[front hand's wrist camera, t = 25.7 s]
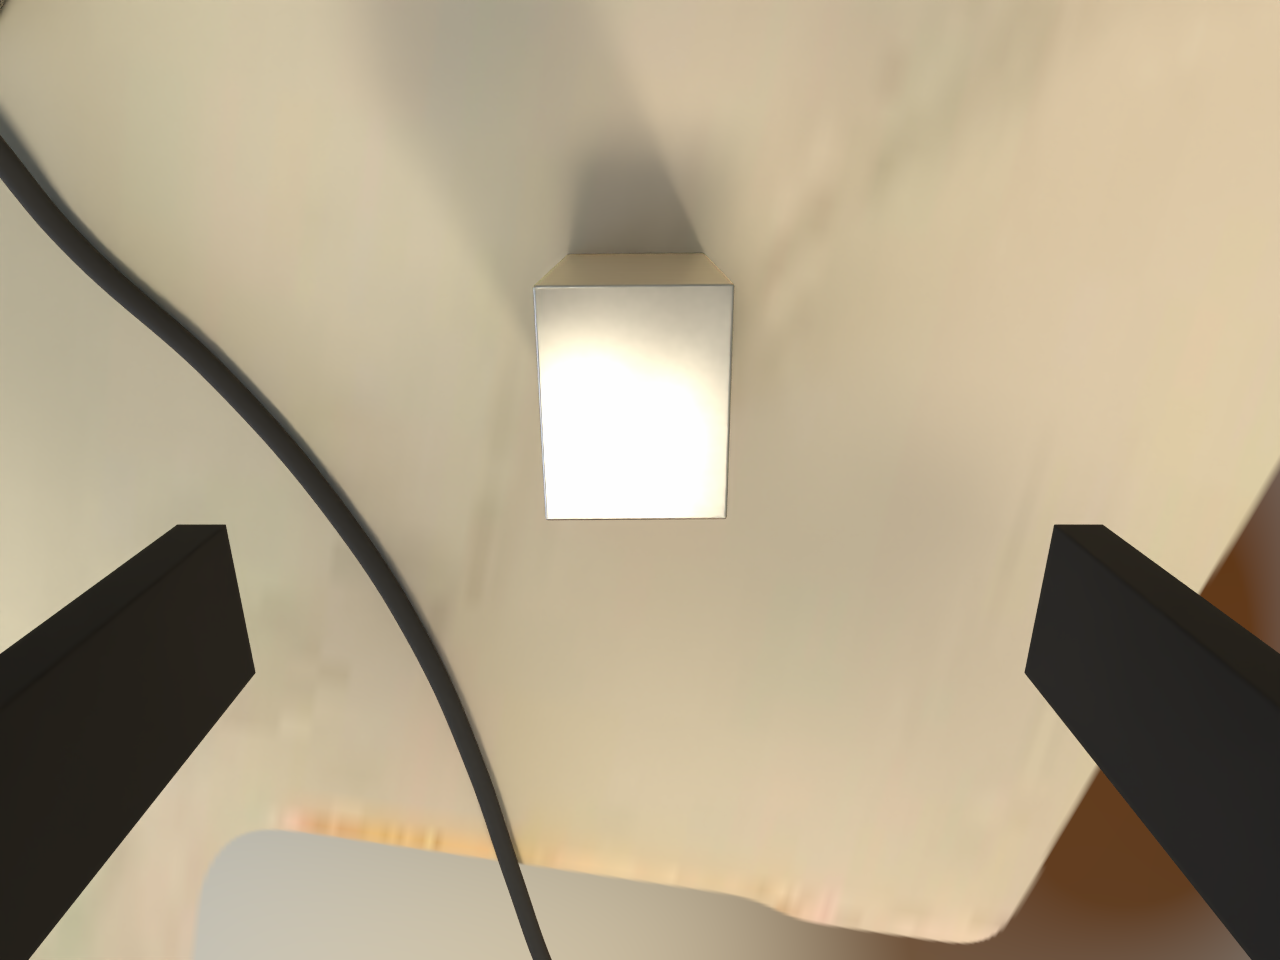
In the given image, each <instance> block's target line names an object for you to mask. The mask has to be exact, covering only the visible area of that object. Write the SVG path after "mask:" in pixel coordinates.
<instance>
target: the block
mask: <svg viewBox="0 0 1280 960" xmlns="http://www.w3.org/2000/svg"><path fill="white" fill-rule="evenodd" d="M533 298H534V317H535V335H536V353H537V372H538V390H539V408H540V426H541V445H542V463H543V481H544V499H545V518H546V520H633V519H725V518H726V517H727V498H728V467H729V437H730V406H731V376H732V345H733V314H734V284H733V283H732V282H731V281H730V280H729V279H728V278H727V277H726V276H725V275H724V274H723V273H722V272H721V270H720V269H719V268H718V267H717V266H716V265H715V264H714V263H713V262H712V261H711V260H710V259H709V258H708V257H707V256H706V255H705V254H704V253H656V254H568V255H567V256H566V257H565V258H564V259H562V260H561V261H560V262H559V263H558V264H557V265H556V266H555V267H554V268H553V269H552V270H550V271H549V272H548V273H547V274H546V275H545V276H544V277H543V278H542V279H541V280H540V281H539V282H537V283H536V284H535V285H534V286H533Z"/></svg>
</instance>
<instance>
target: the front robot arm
mask: <svg viewBox="0 0 1280 960" xmlns="http://www.w3.org/2000/svg"><path fill="white" fill-rule="evenodd" d="M4 1H5V0H0V9H1V7H2V6H3V4H4ZM0 178H1V179H2V181H3V182H4V183H5V184H6V186H7V187H8V188H9V189H10V191H11V192H12V193H13V194H14V196H15V197H16V198H17V199H18V201H19V202H20V203H21V204H22V206H23V207H24V208H25V209H26V211H27V212H28V213H29V214H30V215H31V216H32V218H33V219H34V220H35V221H36V222H37V223H38V225H39V226H40V227H41V228H42V229H43V230H44V231H45V232H46V233H47V235H48V236H49V237H50V238H51V239H52V240H53V241H54V242H55V243H56V244H57V245H58V246H59V247H60V248H61V249H62V250H63V251H64V252H65V253H66V254H67V255H68V256H69V257H70V258H71V259H72V260H73V261H74V262H75V263H76V264H77V265H78V266H79V267H80V268H81V269H82V270H83V271H84V272H85V273H86V274H87V275H88V276H89V277H90V278H91V279H93V280H94V281H95V282H96V283H97V284H98V285H99V286H100V287H101V288H102V289H104V290H105V291H106V292H107V293H108V294H109V295H110V296H111V297H113V298H114V299H115V300H116V301H117V302H118V303H120V304H121V305H122V306H123V307H124V308H125V309H127V310H128V311H129V312H130V313H131V314H133V315H134V316H135V317H136V318H137V319H139V320H140V321H141V322H142V323H143V324H145V325H146V326H147V327H148V328H149V329H150V330H152V331H153V332H154V333H155V334H156V335H158V336H159V337H160V338H161V339H162V340H163V341H165V342H166V343H167V344H168V345H169V346H170V347H172V348H173V349H174V350H175V351H176V352H177V353H178V354H179V355H180V356H182V357H183V358H184V359H185V360H186V361H187V362H188V363H189V364H190V365H191V366H192V367H193V368H194V369H196V370H197V371H198V372H199V373H200V374H201V375H202V376H203V377H204V378H205V379H206V380H207V381H208V382H209V383H210V384H211V385H212V386H213V387H214V388H215V389H216V390H217V391H218V392H219V393H220V394H221V395H222V397H223V398H224V399H225V400H226V401H227V402H228V403H229V404H230V405H231V406H232V407H233V408H234V409H235V410H236V411H237V412H238V413H239V414H240V415H241V416H242V417H243V418H244V420H245V421H246V422H247V423H248V424H249V425H250V426H251V427H252V428H253V429H254V430H255V431H256V432H257V434H258V435H259V436H260V437H261V438H262V439H263V440H264V441H265V442H266V444H267V445H268V446H269V447H270V448H271V449H272V450H273V451H274V453H275V454H276V455H277V456H278V457H279V458H280V460H281V461H282V462H283V463H284V464H285V465H286V467H287V468H288V469H289V470H290V471H291V473H292V474H293V475H294V476H295V478H296V479H297V480H298V481H299V482H300V484H301V485H302V486H303V487H304V489H305V490H306V491H307V493H308V494H309V495H310V496H311V498H312V499H313V500H314V501H315V503H316V504H317V505H318V507H319V508H320V509H321V511H322V512H323V513H324V515H325V516H326V517H327V518H328V520H329V521H330V522H331V524H332V525H333V527H334V528H335V529H336V531H337V532H338V533H339V535H340V536H341V537H342V539H343V540H344V541H345V543H346V544H347V546H348V547H349V548H350V550H351V551H352V553H353V554H354V555H355V557H356V558H357V560H358V561H359V563H360V564H361V565H362V567H363V568H364V570H365V571H366V573H367V574H368V576H369V577H370V579H371V580H372V582H373V583H374V585H375V587H376V588H377V590H378V591H379V593H380V594H381V596H382V598H383V599H384V601H385V603H386V604H387V606H388V608H389V609H390V611H391V613H392V614H393V616H394V618H395V620H396V621H397V623H398V625H399V627H400V628H401V630H402V632H403V634H404V635H405V637H406V639H407V641H408V643H409V645H410V646H411V648H412V650H413V652H414V654H415V656H416V657H417V659H418V661H419V663H420V665H421V667H422V669H423V671H424V673H425V675H426V677H427V679H428V681H429V683H430V685H431V687H432V689H433V691H434V693H435V695H436V697H437V700H438V702H439V704H440V706H441V709H442V711H443V713H444V715H445V718H446V720H447V723H448V725H449V727H450V730H451V732H452V735H453V737H454V740H455V742H456V744H457V747H458V749H459V752H460V754H461V757H462V760H463V762H464V765H465V767H466V770H467V772H468V775H469V777H470V780H471V782H472V785H473V788H474V790H475V793H476V796H477V799H478V801H479V804H480V807H481V810H482V813H483V816H484V819H485V822H486V825H487V828H488V831H489V834H490V837H491V840H492V843H493V846H494V849H495V852H496V855H497V858H498V861H499V864H500V867H501V870H502V873H503V876H504V879H505V881H506V884H507V887H508V890H509V893H510V896H511V899H512V902H513V905H514V907H515V910H516V913H517V916H518V919H519V922H520V925H521V928H522V931H523V934H524V937H525V940H526V942H527V945H528V948H529V951H530V953H531V956H532V958H533V960H551V957H550V955H549V952H548V950H547V947H546V944H545V942H544V939H543V936H542V933H541V930H540V928H539V925H538V922H537V919H536V916H535V913H534V910H533V906H532V903H531V900H530V897H529V894H528V891H527V888H526V885H525V882H524V879H523V876H522V873H521V870H520V867H519V864H518V861H517V858H516V855H515V852H514V849H513V846H512V843H511V840H510V837H509V834H508V830H507V827H506V824H505V821H504V818H503V815H502V812H501V808H500V805H499V802H498V799H497V796H496V793H495V790H494V788H493V785H492V782H491V779H490V776H489V774H488V771H487V768H486V766H485V763H484V761H483V758H482V755H481V753H480V750H479V748H478V745H477V742H476V740H475V737H474V735H473V732H472V730H471V727H470V725H469V722H468V720H467V717H466V715H465V712H464V710H463V707H462V705H461V703H460V700H459V698H458V696H457V693H456V691H455V689H454V687H453V684H452V682H451V680H450V678H449V676H448V674H447V671H446V669H445V667H444V665H443V663H442V661H441V659H440V657H439V655H438V653H437V651H436V649H435V648H434V646H433V644H432V642H431V640H430V638H429V636H428V634H427V633H426V631H425V629H424V627H423V625H422V623H421V621H420V620H419V618H418V616H417V614H416V612H415V611H414V609H413V607H412V605H411V604H410V602H409V600H408V598H407V597H406V595H405V593H404V592H403V590H402V588H401V587H400V585H399V583H398V582H397V580H396V578H395V577H394V575H393V574H392V572H391V570H390V569H389V567H388V566H387V564H386V563H385V561H384V560H383V558H382V557H381V555H380V554H379V552H378V551H377V549H376V548H375V546H374V545H373V543H372V542H371V541H370V539H369V538H368V536H367V535H366V533H365V532H364V531H363V529H362V528H361V526H360V525H359V524H358V522H357V521H356V519H355V518H354V517H353V515H352V514H351V513H350V511H349V510H348V509H347V507H346V506H345V505H344V503H343V502H342V501H341V499H340V498H339V496H338V495H337V494H336V493H335V491H334V490H333V489H332V487H331V486H330V485H329V483H328V482H327V481H326V479H325V478H324V477H323V476H322V474H321V473H320V472H319V471H318V469H317V468H316V467H315V465H314V464H313V463H312V462H311V461H310V459H309V458H308V457H307V456H306V454H305V453H304V452H303V451H302V450H301V448H300V447H299V446H298V445H297V444H296V442H295V441H294V440H293V439H292V438H291V437H290V435H289V434H288V433H287V432H286V431H285V430H284V429H283V427H282V426H281V425H280V424H279V423H278V422H277V421H276V420H275V419H274V417H273V416H272V415H271V414H270V413H269V412H268V411H267V410H266V409H265V408H264V406H263V405H262V404H261V403H260V402H259V401H258V400H257V399H256V398H255V397H254V396H253V395H252V394H251V393H250V392H249V390H248V389H247V388H246V387H245V386H244V385H243V384H242V383H241V382H240V381H239V380H238V379H237V378H236V377H235V376H234V375H233V374H232V373H231V372H230V371H229V370H228V369H227V368H226V367H225V366H224V365H223V364H222V362H221V361H220V360H219V359H218V358H217V357H215V356H214V355H213V354H212V353H211V352H210V351H209V350H208V349H207V348H206V347H205V346H204V345H203V344H202V343H201V342H200V341H198V340H197V339H196V338H195V337H194V336H193V335H192V334H191V333H190V332H188V331H187V330H186V329H185V328H184V327H183V326H182V325H181V324H179V323H178V322H177V321H176V320H175V319H174V318H172V317H171V316H170V315H169V314H168V313H167V312H165V311H164V310H163V309H162V308H161V307H159V306H158V305H157V304H156V303H155V302H154V301H152V300H151V299H150V298H149V297H148V296H147V295H145V294H144V293H143V292H142V291H141V290H140V289H138V288H137V287H136V286H135V285H134V284H133V283H131V282H130V281H129V280H128V279H127V278H126V277H125V276H124V275H123V274H121V273H120V272H119V271H118V270H117V269H116V268H115V267H114V266H113V265H112V264H111V263H110V262H108V261H107V260H106V259H105V258H104V257H103V256H102V255H101V254H100V253H99V252H98V251H97V250H96V249H95V248H94V247H93V246H92V245H91V244H90V243H89V242H88V241H87V240H86V239H85V238H84V237H83V236H82V235H81V233H80V232H79V231H78V230H77V229H76V228H75V227H74V226H73V225H72V224H71V223H70V222H69V221H68V219H67V218H66V217H65V216H64V215H63V214H62V213H61V211H60V210H59V209H58V208H57V207H56V205H55V204H54V203H53V202H52V201H51V199H50V198H49V197H48V196H47V194H46V193H45V192H44V191H43V189H42V188H41V187H40V185H39V184H38V183H37V182H36V180H35V179H34V178H33V176H32V175H31V174H30V172H29V171H28V170H27V169H26V167H25V166H24V165H23V163H22V162H21V161H20V159H19V158H18V157H17V156H16V154H15V153H14V152H13V151H12V149H11V148H10V147H9V146H8V144H7V143H6V142H5V141H4V139H3V138H2V137H1V136H0ZM254 674H255V668H254V663H253V658H252V653H251V648H250V643H249V638H248V633H247V628H246V623H245V618H244V613H243V608H242V603H241V598H240V593H239V588H238V583H237V578H236V573H235V568H234V563H233V559H232V554H231V549H230V544H229V539H228V534H227V529H226V525H176V526H175V527H173V528H172V529H171V530H169V531H168V532H167V533H165V534H164V535H163V536H161V537H160V538H158V539H157V540H156V541H154V542H153V543H152V544H150V545H149V546H147V547H146V548H145V549H143V550H142V551H141V552H139V553H138V554H136V555H135V556H134V557H132V558H131V559H130V560H128V561H127V562H126V563H124V564H123V565H121V566H120V567H119V568H117V569H116V570H115V571H113V572H112V573H110V574H109V575H108V576H106V577H105V578H104V579H102V580H101V581H100V582H98V583H97V584H95V585H94V586H93V587H91V588H90V589H89V590H87V591H86V592H84V593H83V594H82V595H80V596H79V597H78V598H76V599H75V600H73V601H72V602H71V603H69V604H68V605H67V606H65V607H64V608H63V609H61V610H60V611H58V612H57V613H56V614H54V615H53V616H52V617H50V618H49V619H47V620H46V621H45V622H43V623H42V624H41V625H39V626H38V627H37V628H35V629H34V630H32V631H31V632H30V633H28V634H27V635H26V636H24V637H23V638H21V639H20V640H19V641H17V642H16V643H15V644H13V645H12V646H10V647H9V648H8V649H6V650H5V651H4V652H2V653H1V654H0V960H29V958H30V957H31V956H32V955H33V953H34V952H35V951H36V950H37V948H38V947H39V946H40V944H41V943H42V942H43V941H44V939H45V938H46V937H47V936H48V934H49V933H50V932H51V931H52V929H53V928H54V927H55V926H56V924H57V923H58V922H59V920H60V919H61V918H62V917H63V915H64V914H65V913H66V912H67V910H68V909H69V908H70V907H71V905H72V904H73V903H74V901H75V900H76V899H77V898H78V896H79V895H80V894H81V893H82V891H83V890H84V889H85V888H86V886H87V885H88V884H89V883H90V881H91V880H92V879H93V877H94V876H95V875H96V874H97V872H98V871H99V870H100V869H101V867H102V866H103V865H104V864H105V862H106V861H107V860H108V859H109V857H110V856H111V855H112V853H113V852H114V851H115V850H116V848H117V847H118V846H119V845H120V843H121V842H122V841H123V840H124V838H125V837H126V836H127V835H128V833H129V832H130V831H131V829H132V828H133V827H134V826H135V824H136V823H137V822H138V821H139V819H140V818H141V817H142V816H143V814H144V813H145V812H146V811H147V809H148V808H149V807H150V805H151V804H152V803H153V802H154V800H155V799H156V798H157V797H158V795H159V794H160V793H161V792H162V790H163V789H164V788H165V786H166V785H167V784H168V783H169V781H170V780H171V779H172V778H173V776H174V775H175V774H176V773H177V771H178V770H179V769H180V768H181V766H182V765H183V764H184V762H185V761H186V760H187V759H188V757H189V756H190V755H191V754H192V752H193V751H194V750H195V749H196V747H197V746H198V745H199V744H200V742H201V741H202V740H203V738H204V737H205V736H206V735H207V733H208V732H209V731H210V730H211V728H212V727H213V726H214V725H215V723H216V722H217V721H218V720H219V718H220V717H221V716H222V714H223V713H224V712H225V711H226V709H227V708H228V707H229V706H230V704H231V703H232V702H233V701H234V699H235V698H236V697H237V696H238V694H239V693H240V692H241V690H242V689H243V688H244V687H245V685H246V684H247V683H248V682H249V680H250V679H251V678H252V677H253V675H254ZM1025 674H1026V675H1027V677H1028V678H1029V679H1030V680H1031V682H1032V683H1033V684H1034V685H1035V687H1036V688H1037V689H1038V690H1039V692H1040V693H1041V694H1042V696H1043V697H1044V698H1045V699H1046V701H1047V702H1048V703H1049V704H1050V706H1051V707H1052V708H1053V709H1054V711H1055V712H1056V713H1057V714H1058V716H1059V717H1060V718H1061V720H1062V721H1063V722H1064V723H1065V725H1066V726H1067V727H1068V728H1069V730H1070V731H1071V732H1072V733H1073V735H1074V736H1075V737H1076V738H1077V740H1078V741H1079V742H1080V744H1081V745H1082V746H1083V747H1084V749H1085V750H1086V751H1087V752H1088V754H1089V755H1090V756H1091V757H1092V759H1093V760H1094V761H1095V762H1096V764H1097V765H1098V766H1099V768H1100V769H1101V770H1102V771H1103V773H1104V774H1105V775H1106V776H1107V778H1108V779H1109V780H1110V781H1111V783H1112V784H1113V785H1114V786H1115V788H1116V789H1117V790H1118V792H1119V793H1120V794H1121V795H1122V797H1123V798H1124V799H1125V800H1126V802H1127V803H1128V804H1129V805H1130V807H1131V808H1132V809H1133V810H1134V812H1135V813H1136V814H1137V816H1138V817H1139V818H1140V819H1141V821H1142V822H1143V823H1144V824H1145V826H1146V827H1147V828H1148V829H1149V831H1150V832H1151V833H1152V835H1153V836H1154V837H1155V838H1156V840H1157V841H1158V842H1159V843H1160V845H1161V846H1162V847H1163V848H1164V850H1165V851H1166V852H1167V853H1168V855H1169V856H1170V857H1171V859H1172V860H1173V861H1174V862H1175V864H1176V865H1177V866H1178V867H1179V869H1180V870H1181V871H1182V872H1183V874H1184V875H1185V876H1186V877H1187V879H1188V880H1189V881H1190V883H1191V884H1192V885H1193V886H1194V888H1195V889H1196V890H1197V891H1198V893H1199V894H1200V895H1201V896H1202V898H1203V899H1204V900H1205V901H1206V903H1207V904H1208V905H1209V907H1210V908H1211V909H1212V910H1213V912H1214V913H1215V914H1216V915H1217V917H1218V918H1219V919H1220V920H1221V922H1222V923H1223V924H1224V925H1225V927H1226V928H1227V929H1228V931H1229V932H1230V933H1231V934H1232V936H1233V937H1234V938H1235V939H1236V941H1237V942H1238V943H1239V944H1240V946H1241V947H1242V948H1243V949H1244V951H1245V952H1246V953H1247V955H1248V956H1249V957H1250V958H1251V960H1280V654H1279V653H1278V652H1276V651H1275V650H1274V649H1272V648H1271V647H1270V646H1268V645H1267V644H1265V643H1264V642H1263V641H1261V640H1260V639H1259V638H1257V637H1256V636H1254V635H1253V634H1252V633H1250V632H1249V631H1248V630H1246V629H1245V628H1243V627H1242V626H1241V625H1239V624H1238V623H1237V622H1235V621H1234V620H1233V619H1231V618H1230V617H1228V616H1227V615H1226V614H1224V613H1223V612H1222V611H1220V610H1219V609H1217V608H1216V607H1215V606H1213V605H1212V604H1211V603H1209V602H1208V601H1206V600H1205V599H1204V598H1202V597H1201V596H1200V595H1198V594H1197V593H1196V592H1194V591H1193V590H1191V589H1190V588H1189V587H1187V586H1186V585H1185V584H1183V583H1182V582H1180V581H1179V580H1178V579H1176V578H1175V577H1174V576H1172V575H1171V574H1170V573H1168V572H1167V571H1165V570H1164V569H1163V568H1161V567H1160V566H1159V565H1157V564H1156V563H1154V562H1153V561H1152V560H1150V559H1149V558H1148V557H1146V556H1145V555H1144V554H1142V553H1141V552H1139V551H1138V550H1137V549H1135V548H1134V547H1133V546H1131V545H1130V544H1128V543H1127V542H1126V541H1124V540H1123V539H1122V538H1120V537H1119V536H1117V535H1116V534H1115V533H1113V532H1112V531H1111V530H1109V529H1108V528H1107V527H1105V526H1104V525H1054V529H1053V534H1052V539H1051V544H1050V549H1049V554H1048V559H1047V563H1046V568H1045V573H1044V578H1043V583H1042V588H1041V593H1040V598H1039V603H1038V608H1037V613H1036V618H1035V623H1034V628H1033V633H1032V638H1031V643H1030V648H1029V653H1028V658H1027V663H1026V668H1025Z"/></svg>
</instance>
